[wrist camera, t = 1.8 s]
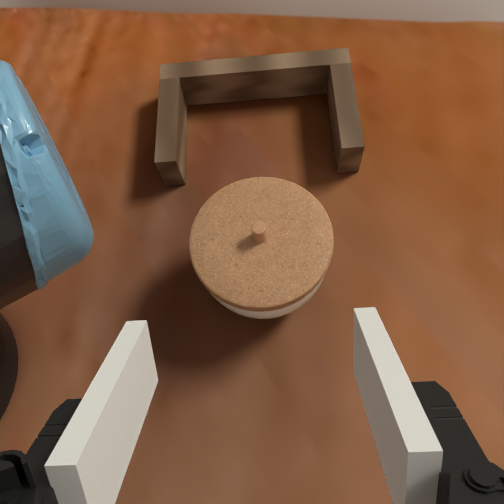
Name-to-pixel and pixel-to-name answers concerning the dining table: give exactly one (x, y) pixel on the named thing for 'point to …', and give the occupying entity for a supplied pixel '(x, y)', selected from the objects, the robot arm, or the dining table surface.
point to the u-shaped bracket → (255, 88)
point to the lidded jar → (261, 246)
